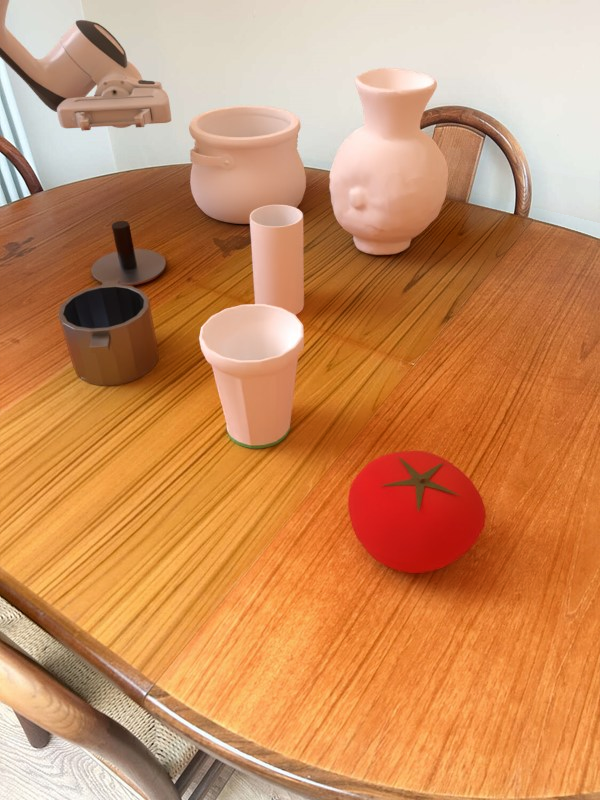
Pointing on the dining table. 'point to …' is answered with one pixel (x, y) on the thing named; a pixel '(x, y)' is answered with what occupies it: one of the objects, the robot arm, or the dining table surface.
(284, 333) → the cup
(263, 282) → the cup
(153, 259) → the lid
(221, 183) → the pot
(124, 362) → the cooker
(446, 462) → the tomato
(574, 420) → the dining table surface
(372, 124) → the vase
